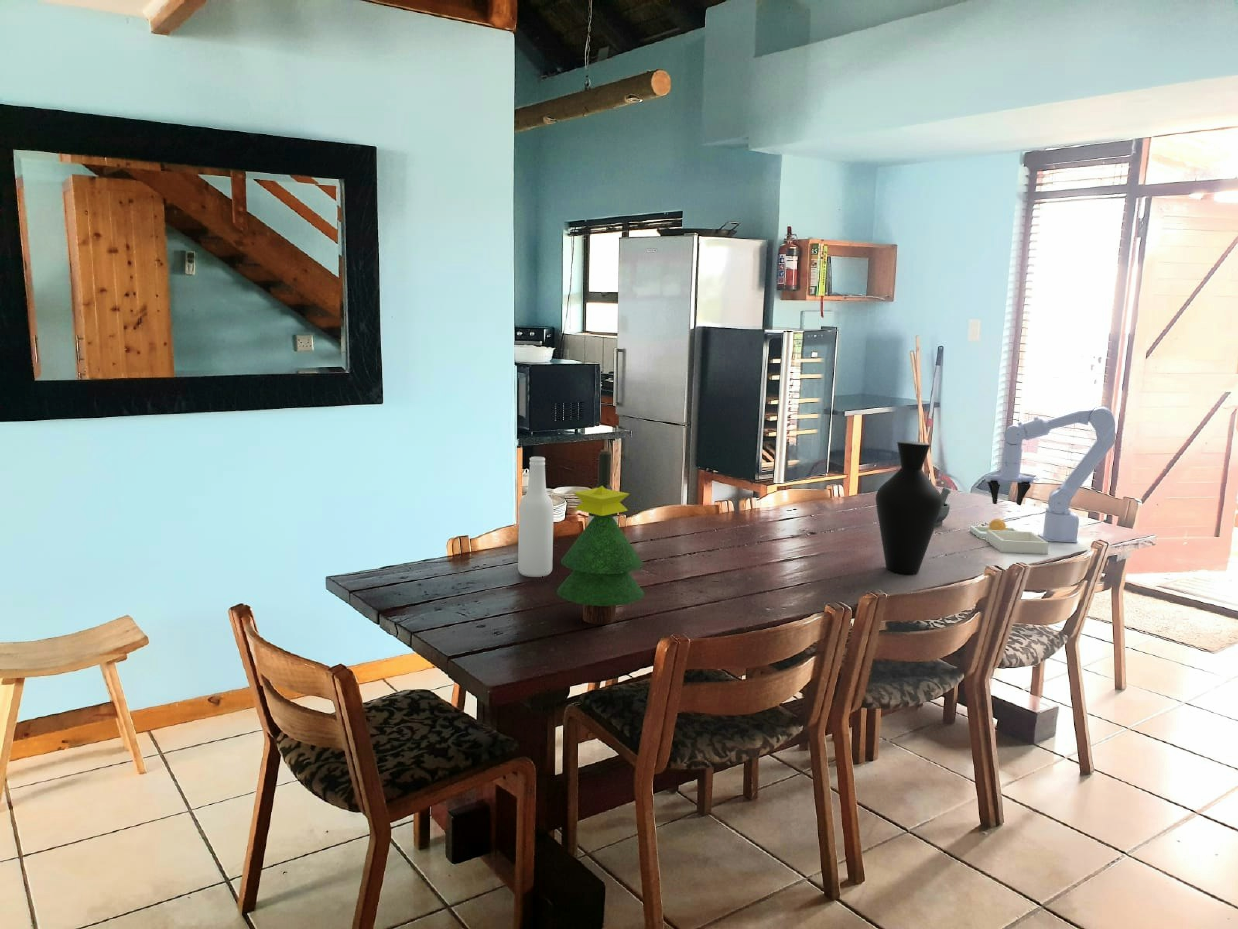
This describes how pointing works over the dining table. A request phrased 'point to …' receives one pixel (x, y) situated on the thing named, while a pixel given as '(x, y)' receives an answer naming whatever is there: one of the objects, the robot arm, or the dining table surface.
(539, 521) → the alcohol
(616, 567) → the decorative tree
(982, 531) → the tray
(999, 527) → the ball
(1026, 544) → the cream open box
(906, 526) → the vase
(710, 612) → the dining table surface
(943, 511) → the mortar and pestle
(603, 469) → the wine bottle
